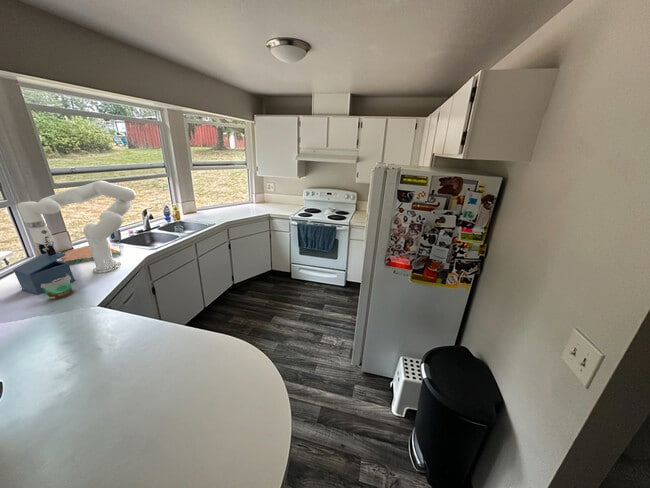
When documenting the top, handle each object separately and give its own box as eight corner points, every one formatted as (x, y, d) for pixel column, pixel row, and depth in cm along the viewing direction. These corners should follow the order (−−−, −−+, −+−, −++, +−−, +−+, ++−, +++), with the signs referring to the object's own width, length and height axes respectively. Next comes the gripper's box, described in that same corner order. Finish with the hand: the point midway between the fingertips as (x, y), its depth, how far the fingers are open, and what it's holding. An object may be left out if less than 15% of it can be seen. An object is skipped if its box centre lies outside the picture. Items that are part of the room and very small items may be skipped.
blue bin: (59, 276, 155) (52, 259, 151) (74, 280, 151) (68, 263, 147) (22, 289, 141) (13, 270, 137) (38, 294, 136) (29, 275, 132)
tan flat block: (63, 256, 184) (59, 245, 181) (119, 246, 204) (117, 237, 201) (59, 266, 168) (55, 255, 165) (121, 255, 188) (118, 245, 185)
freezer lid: (50, 251, 150) (43, 244, 147) (65, 255, 145) (59, 248, 142) (14, 270, 137) (6, 263, 134) (29, 275, 132) (22, 268, 129)
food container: (55, 302, 130) (48, 285, 126) (46, 301, 131) (39, 284, 128) (81, 290, 141) (76, 274, 138) (73, 289, 142) (67, 273, 139)
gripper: (54, 224, 138) (66, 253, 144) (36, 220, 143) (48, 249, 150) (36, 228, 131) (49, 258, 138) (17, 224, 137) (31, 254, 143)
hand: (48, 253), depth 144 cm, fingers closed on freezer lid, 6 cm apart
